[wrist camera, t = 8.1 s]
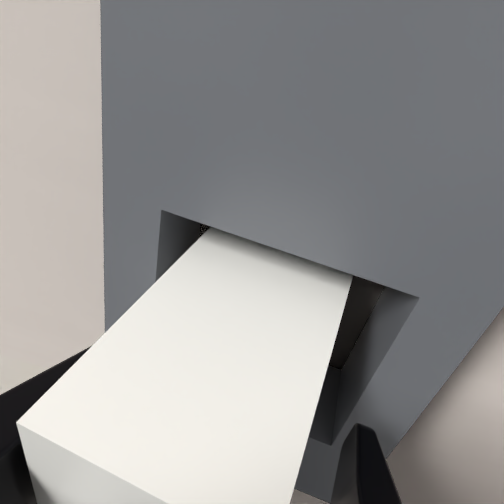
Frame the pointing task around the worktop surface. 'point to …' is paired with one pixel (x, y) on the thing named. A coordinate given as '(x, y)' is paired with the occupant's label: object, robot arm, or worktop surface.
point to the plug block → (194, 385)
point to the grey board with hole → (318, 172)
